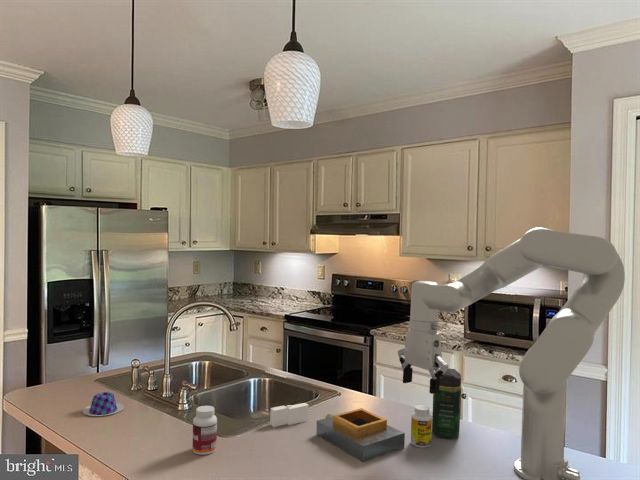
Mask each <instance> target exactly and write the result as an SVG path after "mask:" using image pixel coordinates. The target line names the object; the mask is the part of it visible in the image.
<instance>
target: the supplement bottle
mask: <svg viewBox="0 0 640 480" xmlns="http://www.w3.org/2000/svg"><path fill="white" fill-rule="evenodd" d="M410 420H411V423H410V443H411V444H412V445H413V446H415V447H416V448H420V449H424V448H426V449H427V448H429V447H430V446H431V445H432V415H431V414H430V407H428V406H427V405H422V404H419V405H417V404H416V405H415V406H414V412H412V413H411V419H410Z"/></svg>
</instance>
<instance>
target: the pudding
mask: <svg viewBox="0 0 640 480" xmlns="http://www.w3.org/2000/svg"><path fill="white" fill-rule="evenodd" d="M90 403H91V404H90V405H87V406H86V407H85V408H83V409H82V413H83V414H84V415H86V416H91V417H104V416H110V415H114V414H116V413H120V412H121V411H122V410H124V408H125V406H124V404H122V403H120V402H117V401H116V397H115V394H114V393H113V392H109V391H105V392H99V393H96V394H94V395H93V397H92V400H91V402H90Z"/></svg>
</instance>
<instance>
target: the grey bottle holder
mask: <svg viewBox="0 0 640 480" xmlns="http://www.w3.org/2000/svg"><path fill="white" fill-rule="evenodd" d="M315 435H316V436H318V437H320V439H323V440H324V441H327V442H328V443H330V444H332V445H334V446H336V448H338V449H340V450H342V451H343V452H345V453H347V454H349V455H350V456H352V457H354V459H355V458H356V459H357V460H359V461H361V462H363V463H364V462H367V461H369V460H373V459H376V458H379V457H381V456H384V455H388V454H390V453H393V452H396V451H399V450H401V449H404V448H405V443H406V442H405V440H406V433H405V432H404V431H401V430H400V429H397V428H395V427H392V426H391V425H389V424H388V420H387V419H386V418H384V417H382V416H379V415H377V414H375V413H373V412H371V411H368V410H367V409H364V408H362V407H361V408H356V409H354V410H350V411H346V412H343V413H337V414H335V415H333V414H331V413H327V414H326V415H325V418H321V419H318V420H316V434H315Z"/></svg>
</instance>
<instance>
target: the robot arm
mask: <svg viewBox="0 0 640 480" xmlns="http://www.w3.org/2000/svg"><path fill="white" fill-rule="evenodd" d="M542 267H548V268H553V269H558V270H565V271H569V272H575V273H581V274H582V278H581V281H580V282H579V284H578V285H577V286H576V288H575V290H574V291H573V292H572V294H571V295H570V297H569V298H568V300H567V301H566V302H565V304H564V305H563V306H562V307H561V309H560V310H559V311H558V312H557V313H556V314H555V315H554V316H553V317H552V318H551V319H550V321H549V322H548V324H547V326H546V327H545V328H544V330H543V331H542V332H541V334H540V335H539V337H538V338H537V339H536V340H535V342H534V343H533V345H532V346H531V347H530V348H528V350H527V351H526V353H525V354H524V356H523V357H522V359H521V361H520V363H519V366H518V367H519V368H518V373H519V378H520V381H521V382H522V384H523V387H522V388H523V389H522V406H521V407H522V408H521V410H522V411H521V441H520V442H521V443H520V444H521V445H520V458H518V459H516V460H515V461H514V463H513V469H514V471H515V473H516V474H517V475H519V476H520V477H521V478H523V479H525V480H581V476H580V471H578V470H576V469H573V468H570V466H569V460H568V459H567V458H565V436H566V435H565V434H566V433H565V432H566V431H565V430H566V428H565V426H566V403H567V401H566V400H567V398H566V397H567V383H568V378H569V377H570V376H571V375H572V373H573V372H574V371H575V370H576V368H578V366H579V365H580V363H581V362H582V360H583V359H584V358H585V357H586V355H588V353H589V351H590V350H591V348H592V346H593V345H594V340H595V334H596V332H597V331H598V329H599V327H600V326H601V325H602V323H603V322H604V321H605V319H606V318H607V316H608V315H609V313H610V312H611V311H612V310H613V308H614V307H615V305H616V304H617V302H618V300H619V299H620V296H621V295H622V293H623V290H624V286H625V280H626V276H625V275H626V274H625V272H626V271H625V267H624V264H623V261H622V258H621V257H620V255H619V253H618V252H617V249H616V247H615V245H613V243H612V242H611V241H609V240H608V239H607V238H604V237H601V236H595V235H587V234H579V233H575V232H565V231H560V230H555V229H549V228H544V227H534V228H532V229H530V230H527V231H526V232H525V233H524V234H523V236H522V237H521V238H519V239H517V240H515V241H514V242H512V243H510V244H509V245H507V246H505V247H503V248H502V249H500V250H499V251H496V252H495V253H493V254H492V255H490V256H489V257H488V258H486V259H485V261H484V262H483V263H482V264H481V265H480V266H479V267H477V268H476V269H475V270H473V271H471V272H470V273H468V274H466V275H465V276H463V277H461V278H460V279H459V278H458V279H457V280H456V281H454V282H450V283H446V284H445V283H444V284H438V283H437V282H435V281H429V280H428V281H427V280H418V281H417V280H416V281H414V282H413V283H412V284H411V294H410V295H411V296H410V297H411V298H410V311H409V312H410V315H409V328H408V330H407V333H406V336H405V337H406V339H405V343H404V348H401V349H398V350H397V355H398V358H399V360H398V361H399V363H400V364H401V368H402V383H403V384H408V383H412V381H413V367H416V368H419V369H423V370H425V371H428V372H429V374H430V376H431V378H430V379H429V391H428V392H429V394H432V395H433V393H437V392H439V384H440V378H442V376H443V375H444V374H445V373H446V371H447V369H448V368H450V367H449V364H448V363H447V362H446V361H445V360H444V359H443V357H442V355H443V354H442V351H443V349H442V339H441V335H440V334H441V333H440V332H439V331H440V329H441V326H440V325H439V324H438V323H439V322H438V321H439V311H440V312H444V313H451V314H452V313H457V312H459V311H460V310H462V309H463V310H464V309H465V308H467V307H468V306H470V305H472V304H474V303H476V302H478V301H479V300H481V299H483V298H485V297H487V296H488V295H490V294H492V293H493V292H496V291H497V290H501V289H504V288H505V287H508V286H509V285H511V284H513V283H515V282H516V281H518V280H521V279H522V278H524V277H526V276H527V275H529V274H531V273H532V272H534V271H536V270H538V269H539V268H542ZM412 366H413V367H412ZM439 369H440V370H439ZM435 373H436V374H435Z"/></svg>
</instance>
